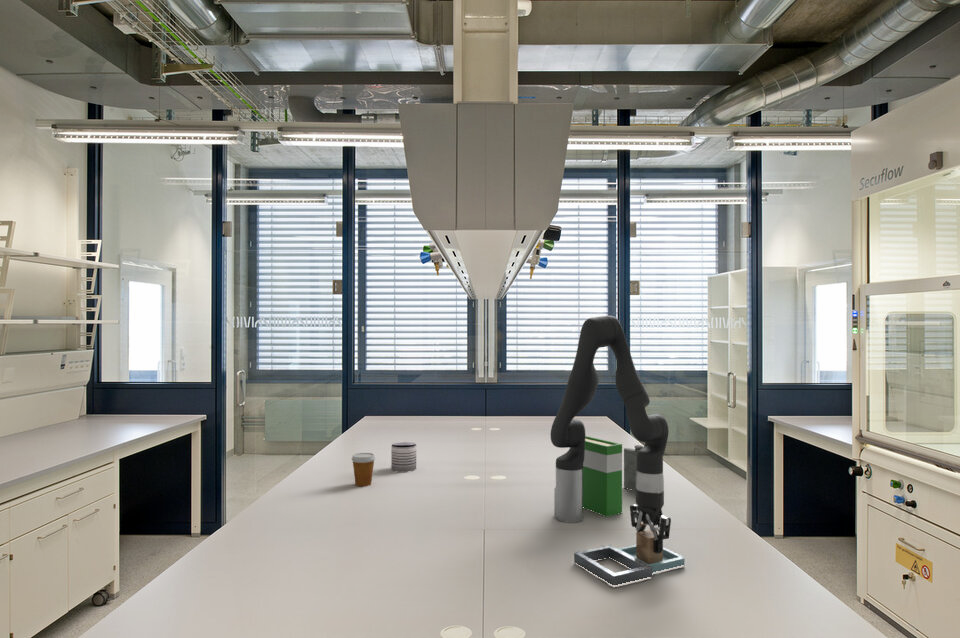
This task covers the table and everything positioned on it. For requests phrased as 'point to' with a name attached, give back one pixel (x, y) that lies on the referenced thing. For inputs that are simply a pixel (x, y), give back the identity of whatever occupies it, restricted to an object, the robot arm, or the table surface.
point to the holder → (637, 567)
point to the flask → (630, 467)
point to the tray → (668, 561)
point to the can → (403, 457)
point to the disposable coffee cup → (363, 468)
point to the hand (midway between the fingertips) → (649, 548)
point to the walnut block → (647, 547)
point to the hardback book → (602, 476)
